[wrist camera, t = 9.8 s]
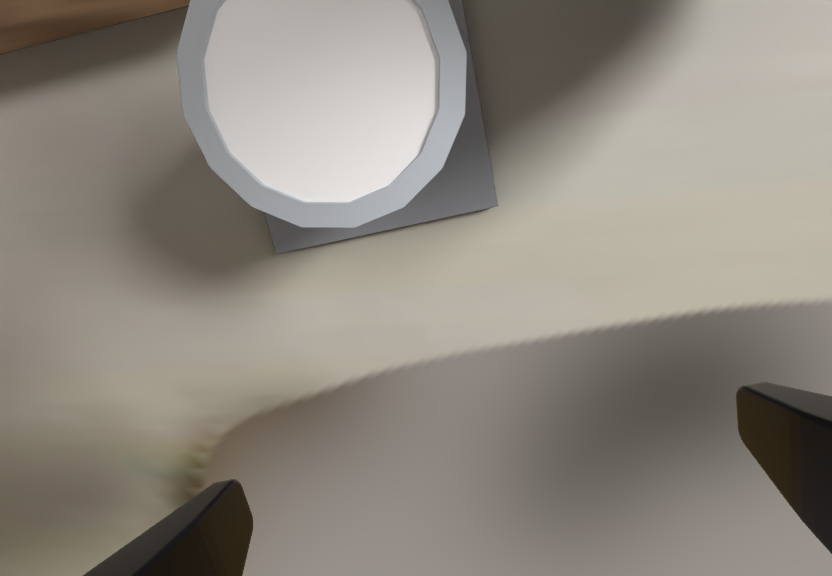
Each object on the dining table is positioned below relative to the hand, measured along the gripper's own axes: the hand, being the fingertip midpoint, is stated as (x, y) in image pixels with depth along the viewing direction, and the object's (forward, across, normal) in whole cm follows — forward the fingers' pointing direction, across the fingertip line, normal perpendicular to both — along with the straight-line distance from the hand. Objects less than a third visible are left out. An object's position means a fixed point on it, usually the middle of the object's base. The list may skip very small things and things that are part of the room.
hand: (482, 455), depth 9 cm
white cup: (+12, +2, -7) cm, 14 cm away
